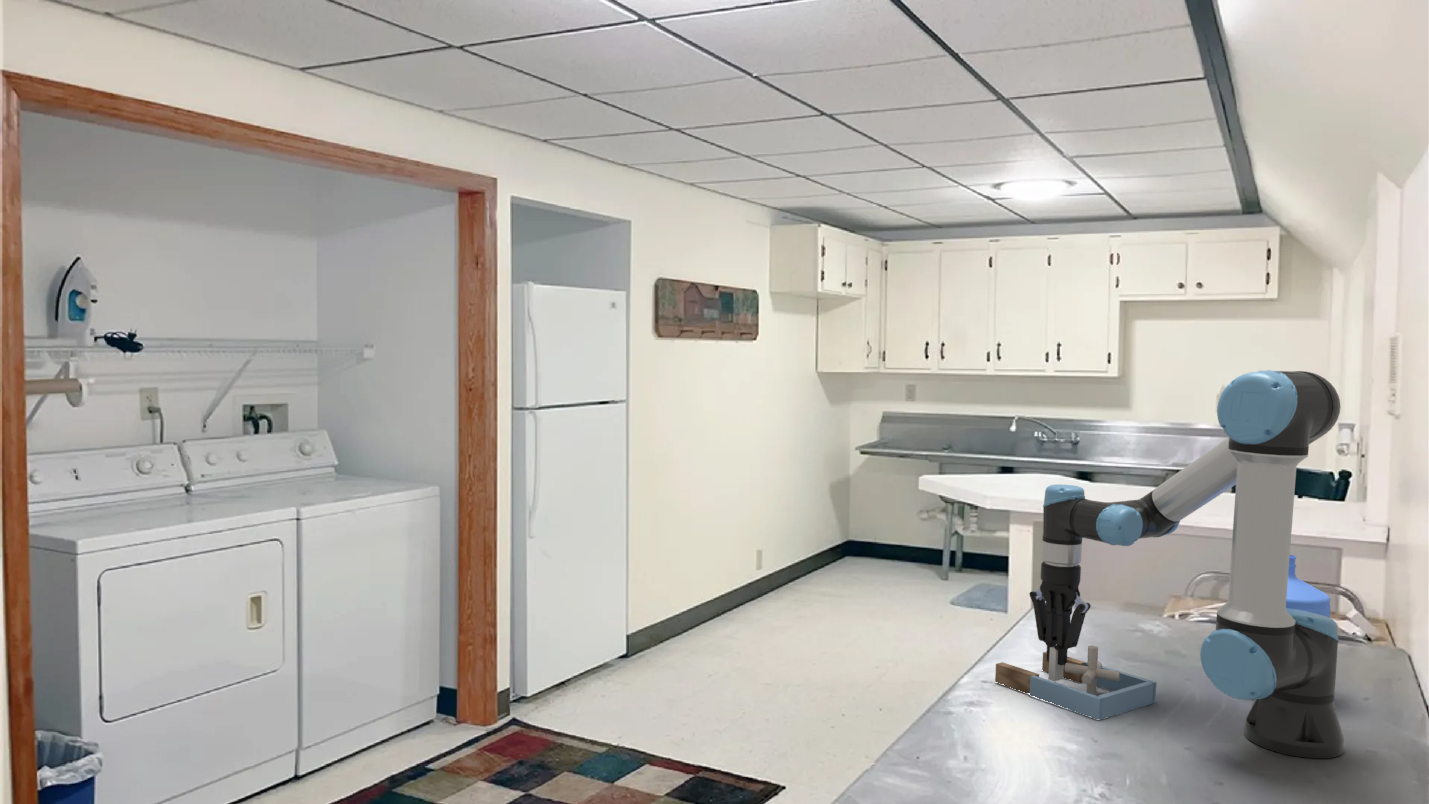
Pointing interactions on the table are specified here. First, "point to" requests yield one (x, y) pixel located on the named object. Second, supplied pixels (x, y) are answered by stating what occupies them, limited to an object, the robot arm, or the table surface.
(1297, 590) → the water jug
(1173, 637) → the table surface
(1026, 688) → the slot rails
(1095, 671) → the pipe connector
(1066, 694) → the bin
